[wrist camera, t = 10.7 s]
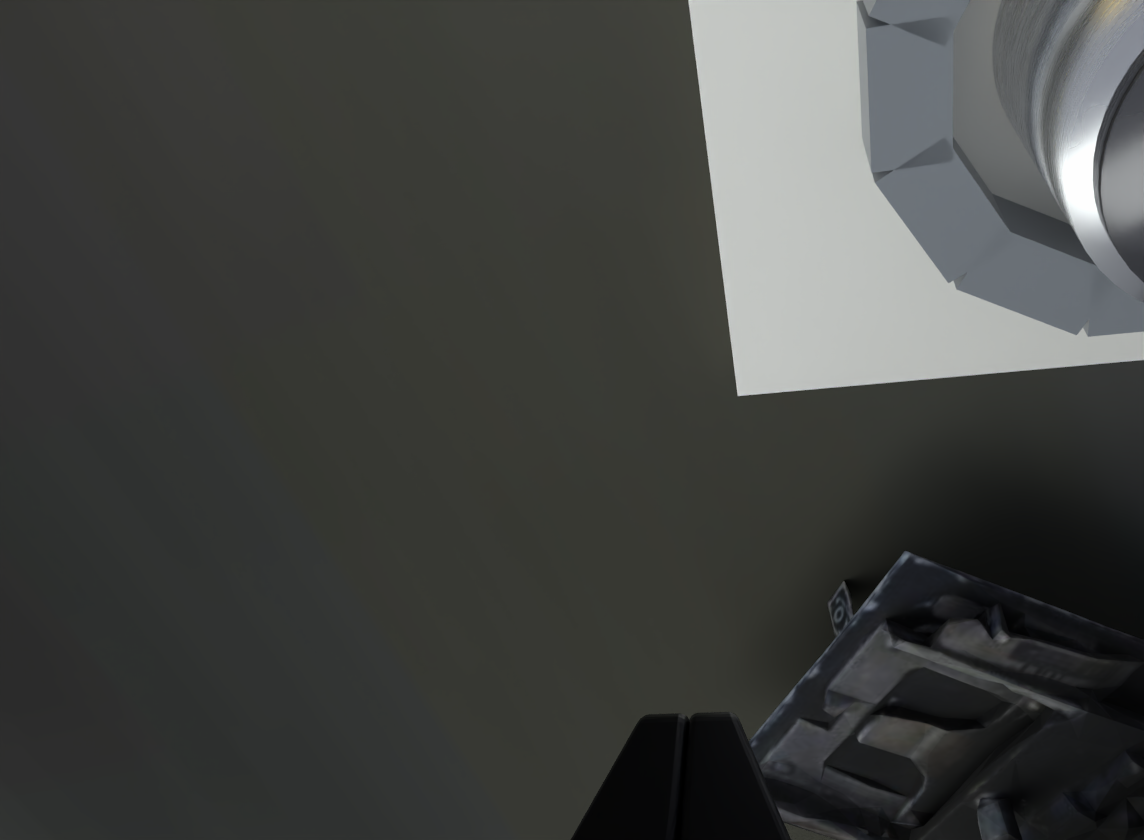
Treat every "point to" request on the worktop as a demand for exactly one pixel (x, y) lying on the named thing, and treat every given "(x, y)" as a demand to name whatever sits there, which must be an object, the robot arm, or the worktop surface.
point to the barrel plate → (886, 202)
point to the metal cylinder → (1082, 117)
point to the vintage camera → (961, 719)
